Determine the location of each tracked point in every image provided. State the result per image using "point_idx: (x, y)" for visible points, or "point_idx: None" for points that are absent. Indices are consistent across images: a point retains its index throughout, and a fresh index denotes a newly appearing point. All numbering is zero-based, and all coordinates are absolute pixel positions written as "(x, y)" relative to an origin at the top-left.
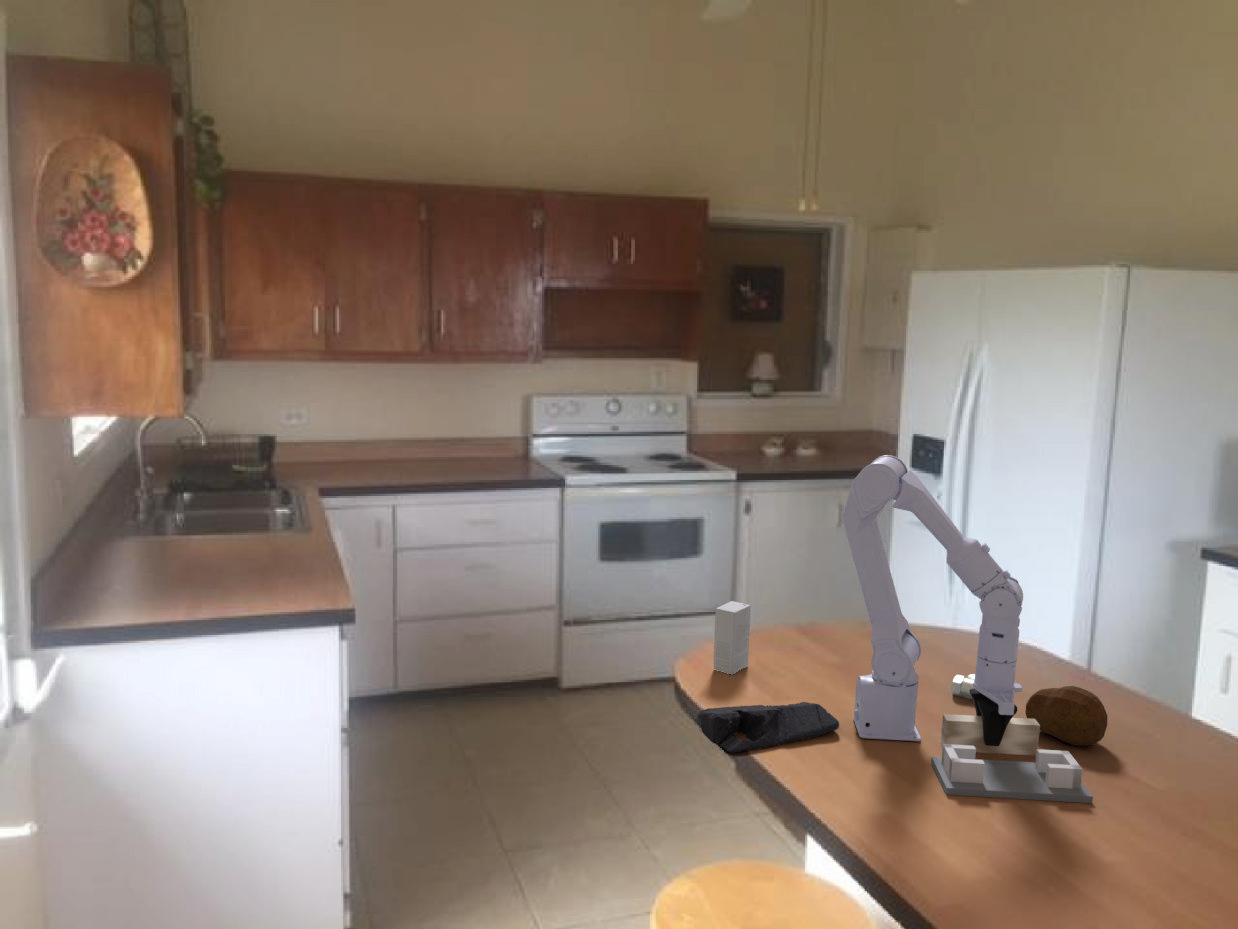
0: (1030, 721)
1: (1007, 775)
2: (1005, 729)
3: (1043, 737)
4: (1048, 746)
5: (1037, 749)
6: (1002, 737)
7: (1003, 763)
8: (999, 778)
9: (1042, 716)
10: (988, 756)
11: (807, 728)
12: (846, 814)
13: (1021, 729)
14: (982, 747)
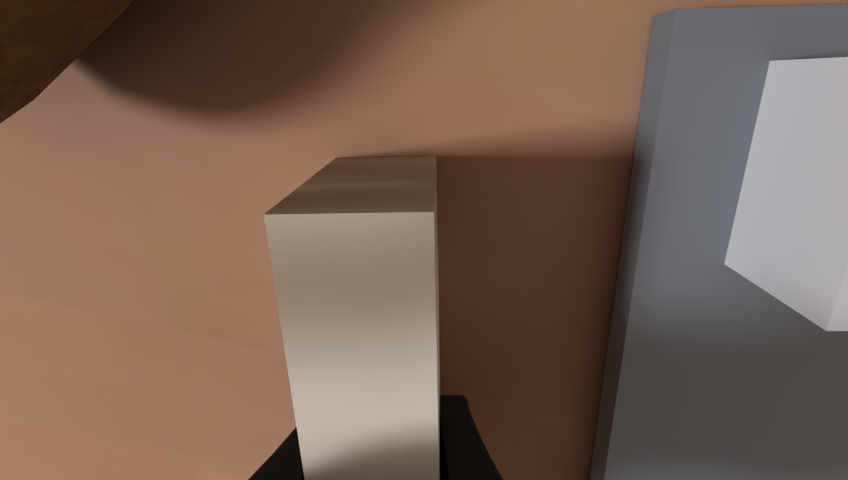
0: (345, 277)
1: (798, 424)
2: (498, 474)
3: (129, 23)
4: (275, 32)
5: (834, 327)
6: (475, 428)
7: (654, 408)
8: (825, 465)
9: (10, 40)
10: (481, 407)
11: None
12: None
13: (437, 342)
14: None
